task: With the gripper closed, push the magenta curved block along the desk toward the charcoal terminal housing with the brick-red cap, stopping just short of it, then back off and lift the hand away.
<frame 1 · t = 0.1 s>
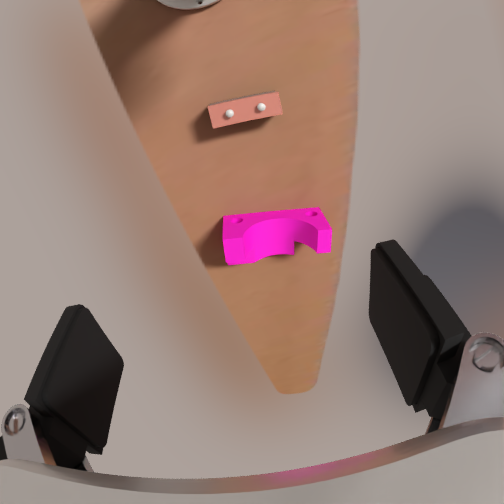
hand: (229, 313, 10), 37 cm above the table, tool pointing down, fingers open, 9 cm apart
magenta curved block: (272, 227, 50), on the table
terminal housing: (244, 107, 39), on the table
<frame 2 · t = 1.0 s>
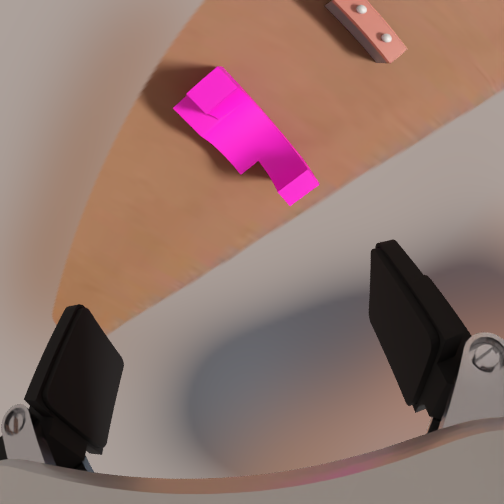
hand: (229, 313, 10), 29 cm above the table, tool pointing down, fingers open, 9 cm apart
magenta curved block: (245, 130, 34), on the table
terminal housing: (360, 27, 27), on the table
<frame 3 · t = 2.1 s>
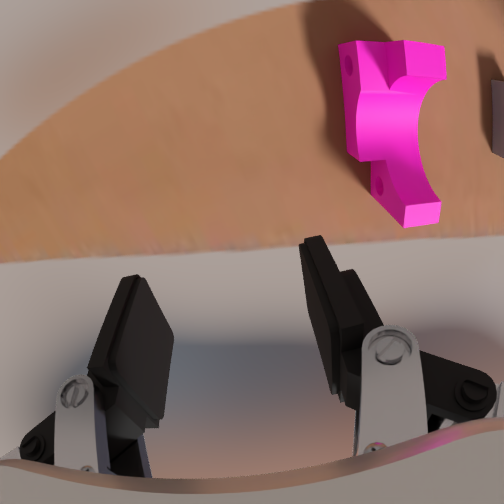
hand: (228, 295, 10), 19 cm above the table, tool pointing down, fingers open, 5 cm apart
magenta curved block: (373, 121, 26), on the table
terminal housing: (500, 116, 25), on the table
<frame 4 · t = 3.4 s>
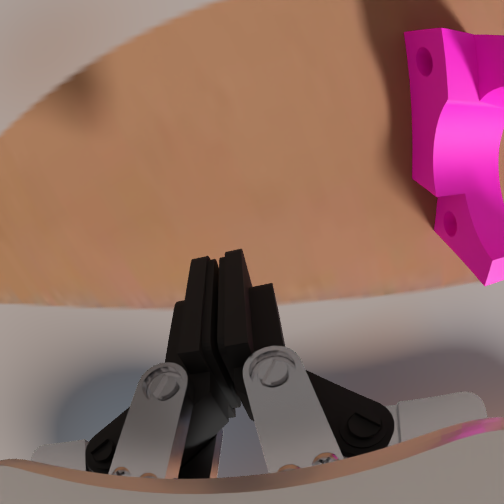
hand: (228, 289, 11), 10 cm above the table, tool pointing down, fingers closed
magenta curved block: (444, 137, 18), on the table
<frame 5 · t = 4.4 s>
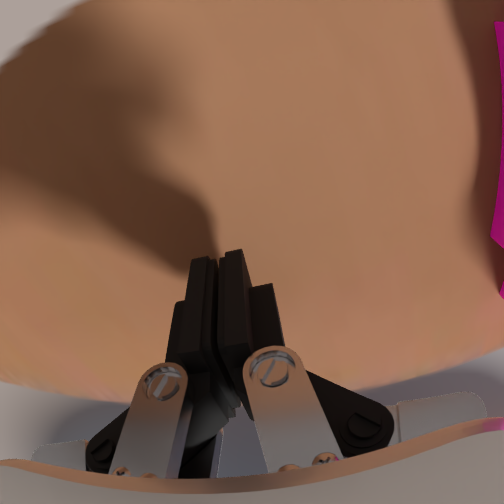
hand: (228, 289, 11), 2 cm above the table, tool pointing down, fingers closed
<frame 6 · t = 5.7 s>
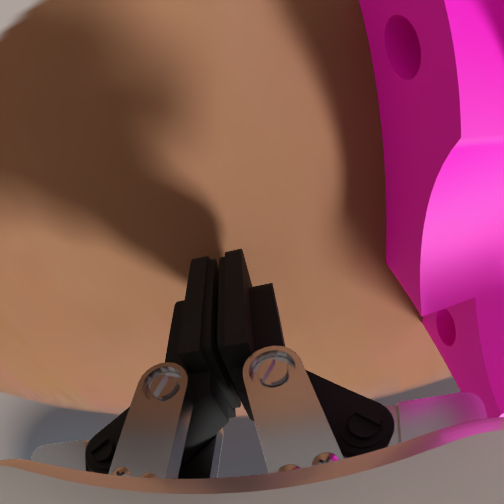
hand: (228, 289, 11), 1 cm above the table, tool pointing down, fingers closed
magenta curved block: (445, 184, 11), on the table
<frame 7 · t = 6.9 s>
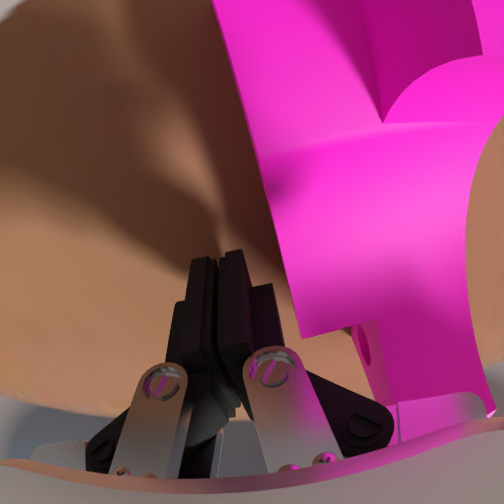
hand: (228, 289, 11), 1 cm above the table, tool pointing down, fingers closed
magenta curved block: (351, 189, 11), on the table
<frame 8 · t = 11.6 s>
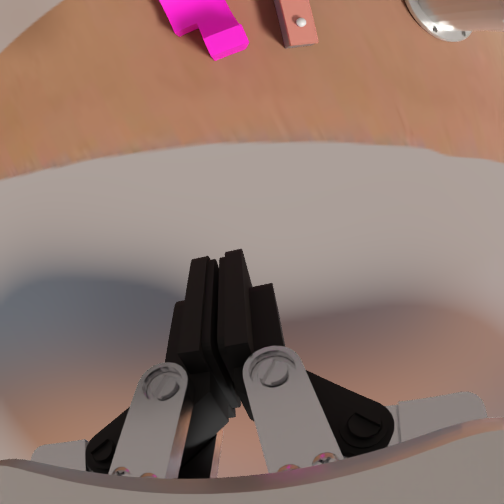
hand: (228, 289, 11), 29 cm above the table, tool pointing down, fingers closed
magenta curved block: (195, 7, 27), on the table
terminal housing: (289, 13, 27), on the table
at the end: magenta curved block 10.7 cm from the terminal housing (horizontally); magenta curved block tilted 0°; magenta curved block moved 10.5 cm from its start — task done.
